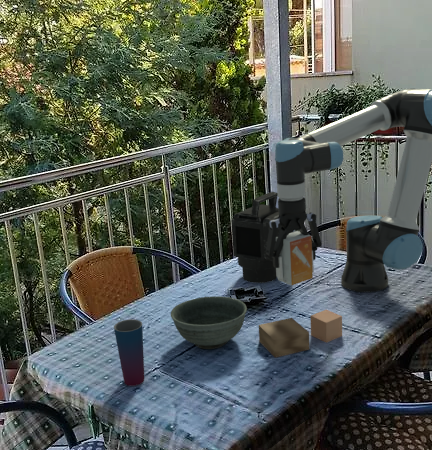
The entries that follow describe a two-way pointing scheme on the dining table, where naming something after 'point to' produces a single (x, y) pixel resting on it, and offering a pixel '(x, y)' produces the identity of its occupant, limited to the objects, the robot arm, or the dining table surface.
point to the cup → (130, 350)
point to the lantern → (255, 239)
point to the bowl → (209, 320)
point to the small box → (296, 258)
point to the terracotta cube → (326, 326)
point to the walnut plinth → (283, 337)
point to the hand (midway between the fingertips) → (295, 274)
